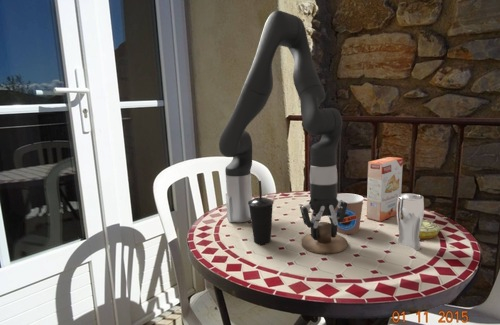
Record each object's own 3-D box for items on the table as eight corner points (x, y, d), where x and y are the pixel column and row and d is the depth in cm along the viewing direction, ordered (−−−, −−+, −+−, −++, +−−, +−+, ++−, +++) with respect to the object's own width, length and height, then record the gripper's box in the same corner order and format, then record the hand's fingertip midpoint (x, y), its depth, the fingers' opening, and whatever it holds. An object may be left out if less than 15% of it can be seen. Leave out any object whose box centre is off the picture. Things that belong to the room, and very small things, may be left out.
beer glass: (425, 252, 93) (427, 200, 90) (398, 251, 94) (399, 199, 92) (418, 242, 99) (420, 193, 97) (393, 241, 101) (394, 193, 98)
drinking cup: (257, 252, 98) (254, 185, 94) (245, 243, 105) (242, 180, 101) (279, 246, 101) (277, 181, 98) (267, 238, 108) (264, 177, 105)
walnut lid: (313, 256, 90) (312, 235, 89) (294, 238, 103) (294, 220, 102) (356, 249, 93) (356, 229, 92) (333, 233, 106) (333, 214, 105)
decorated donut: (444, 233, 106) (445, 222, 105) (431, 244, 99) (431, 231, 98) (411, 225, 113) (411, 214, 113) (395, 234, 106) (396, 223, 106)
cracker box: (381, 222, 117) (382, 163, 113) (365, 218, 121) (366, 161, 118) (401, 213, 125) (403, 157, 121) (386, 209, 130) (388, 156, 126)
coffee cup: (327, 237, 106) (327, 201, 104) (332, 226, 115) (332, 192, 113) (362, 241, 102) (362, 203, 100) (364, 229, 111) (365, 194, 109)
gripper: (339, 175, 100) (339, 230, 103) (294, 180, 96) (295, 236, 99) (353, 180, 93) (353, 239, 96) (305, 186, 89) (306, 246, 92)
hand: (323, 237), depth 97 cm, fingers open, 5 cm apart
